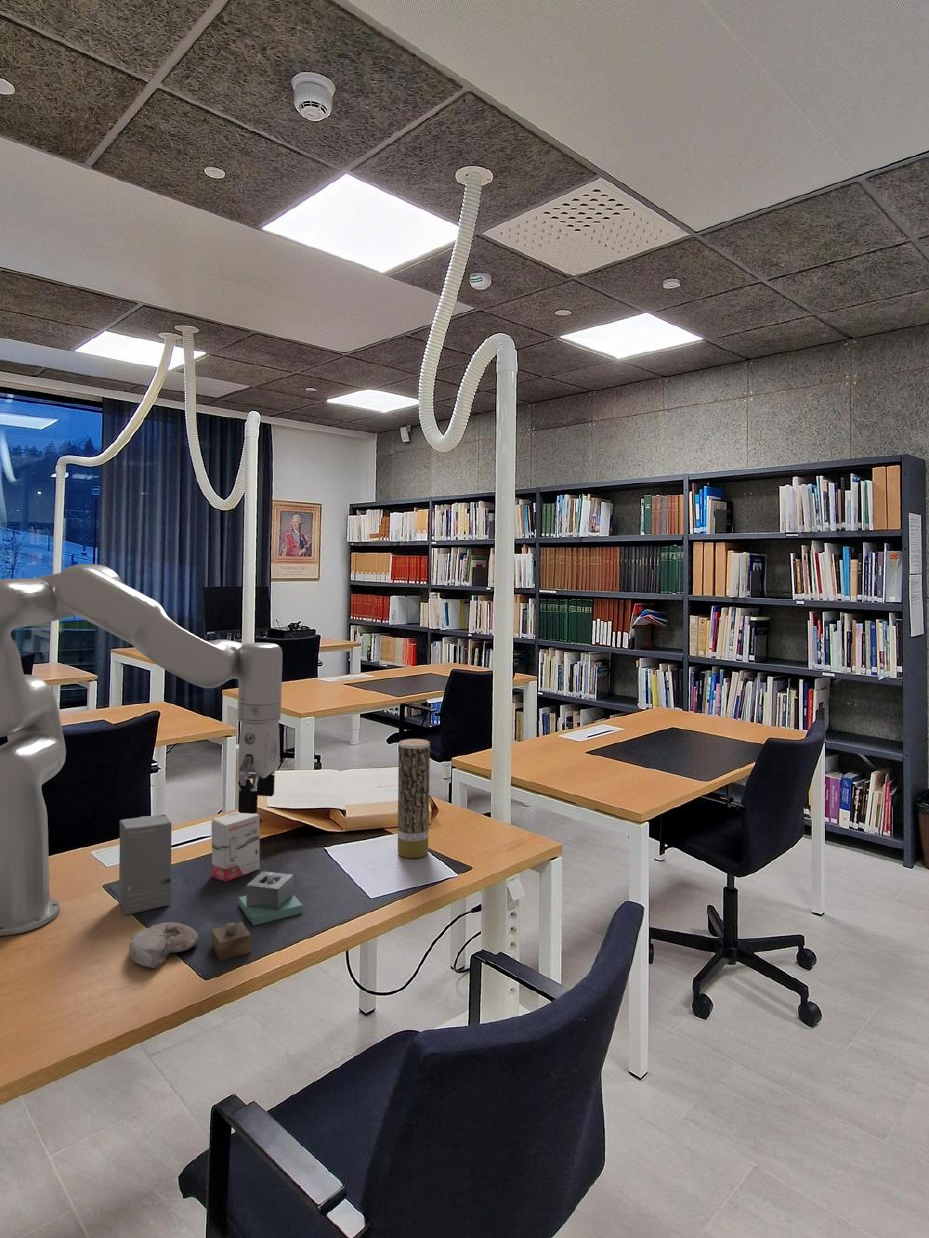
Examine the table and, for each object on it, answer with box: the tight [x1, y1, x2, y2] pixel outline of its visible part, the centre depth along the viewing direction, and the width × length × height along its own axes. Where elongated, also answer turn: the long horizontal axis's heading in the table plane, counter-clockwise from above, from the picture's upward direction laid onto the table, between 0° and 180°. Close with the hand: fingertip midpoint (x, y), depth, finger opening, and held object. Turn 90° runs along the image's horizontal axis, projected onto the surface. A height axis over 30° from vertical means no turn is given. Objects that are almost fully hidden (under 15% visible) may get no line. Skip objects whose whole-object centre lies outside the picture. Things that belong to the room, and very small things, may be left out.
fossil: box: [128, 922, 200, 969], centre depth 117 cm, size 12×4×10 cm
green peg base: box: [238, 873, 304, 926], centre depth 133 cm, size 9×9×6 cm
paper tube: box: [397, 738, 431, 859], centre depth 159 cm, size 7×7×25 cm
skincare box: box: [118, 814, 172, 916], centre depth 134 cm, size 8×7×16 cm
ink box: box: [211, 810, 261, 883], centre depth 148 cm, size 9×5×12 cm, turn 143°
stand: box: [211, 921, 252, 962], centre depth 118 cm, size 5×5×4 cm
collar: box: [245, 871, 294, 911], centre depth 133 cm, size 6×6×4 cm
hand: (256, 803), depth 131 cm, fingers open, 9 cm apart
